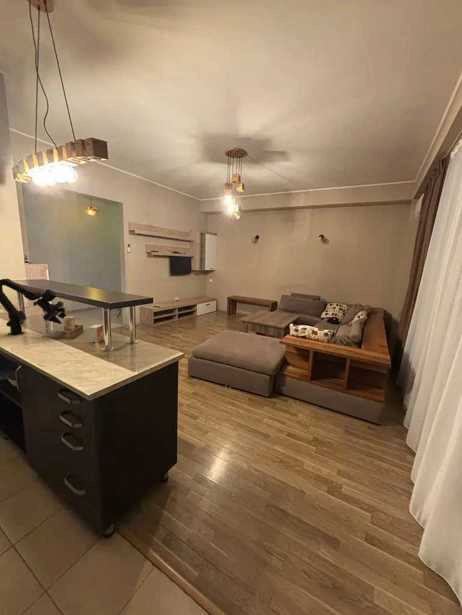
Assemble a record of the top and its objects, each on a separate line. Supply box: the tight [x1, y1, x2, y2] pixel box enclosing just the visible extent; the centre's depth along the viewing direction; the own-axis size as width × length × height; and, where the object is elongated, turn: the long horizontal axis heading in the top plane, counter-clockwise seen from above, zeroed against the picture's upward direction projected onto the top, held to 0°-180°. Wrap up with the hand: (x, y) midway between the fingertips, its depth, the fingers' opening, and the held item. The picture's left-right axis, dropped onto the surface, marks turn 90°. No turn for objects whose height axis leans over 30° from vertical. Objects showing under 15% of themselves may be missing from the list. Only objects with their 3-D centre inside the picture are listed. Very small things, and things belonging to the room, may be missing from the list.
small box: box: [88, 324, 104, 344], centre depth 166 cm, size 8×6×10 cm
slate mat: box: [41, 330, 56, 338], centre depth 173 cm, size 11×12×1 cm
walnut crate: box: [55, 324, 84, 340], centre depth 174 cm, size 10×17×5 cm, turn 9°
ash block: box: [63, 315, 76, 331], centre depth 173 cm, size 5×5×13 cm
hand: (64, 321), depth 172 cm, fingers open, 9 cm apart
